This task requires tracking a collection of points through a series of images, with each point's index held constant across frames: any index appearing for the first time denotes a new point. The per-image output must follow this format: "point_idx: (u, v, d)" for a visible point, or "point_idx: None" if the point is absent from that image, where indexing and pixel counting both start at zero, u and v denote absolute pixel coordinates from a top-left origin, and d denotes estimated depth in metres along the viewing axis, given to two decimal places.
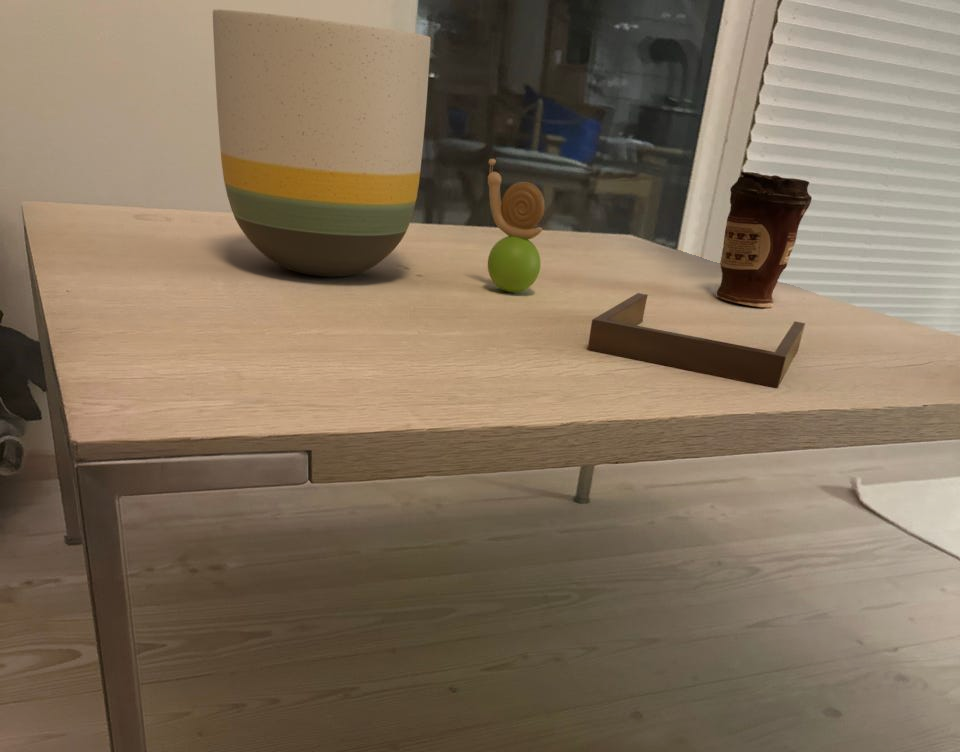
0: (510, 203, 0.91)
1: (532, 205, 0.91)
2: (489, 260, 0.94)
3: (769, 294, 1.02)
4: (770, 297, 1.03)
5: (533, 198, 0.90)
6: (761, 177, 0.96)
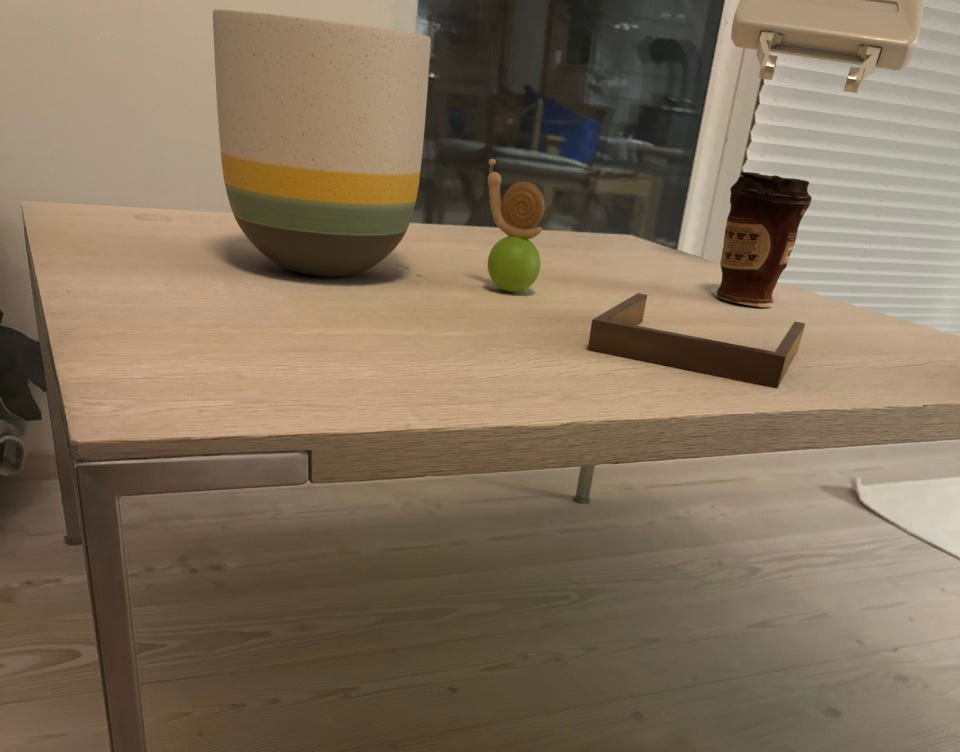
0: (510, 203, 0.91)
1: (532, 205, 0.91)
2: (489, 260, 0.94)
3: (769, 294, 1.02)
4: (770, 297, 1.03)
5: (533, 198, 0.90)
6: (761, 177, 0.96)
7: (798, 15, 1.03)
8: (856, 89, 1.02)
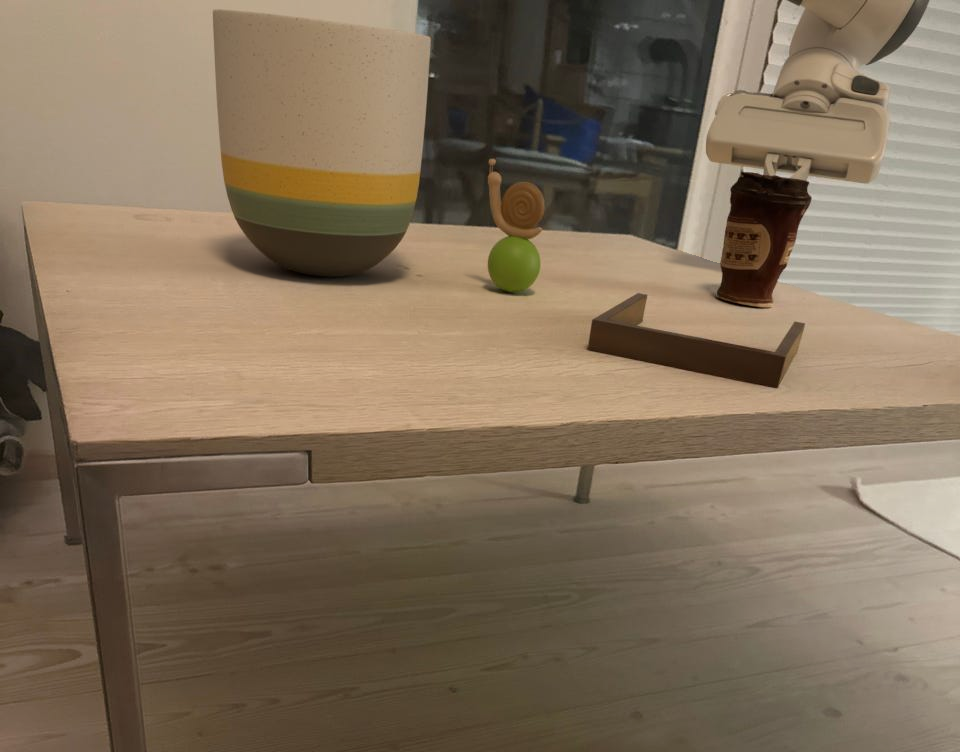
0: (510, 203, 0.91)
1: (532, 205, 0.91)
2: (489, 260, 0.94)
3: (769, 294, 1.02)
4: (770, 297, 1.03)
5: (533, 198, 0.90)
6: (761, 177, 0.96)
7: (768, 134, 1.07)
8: None
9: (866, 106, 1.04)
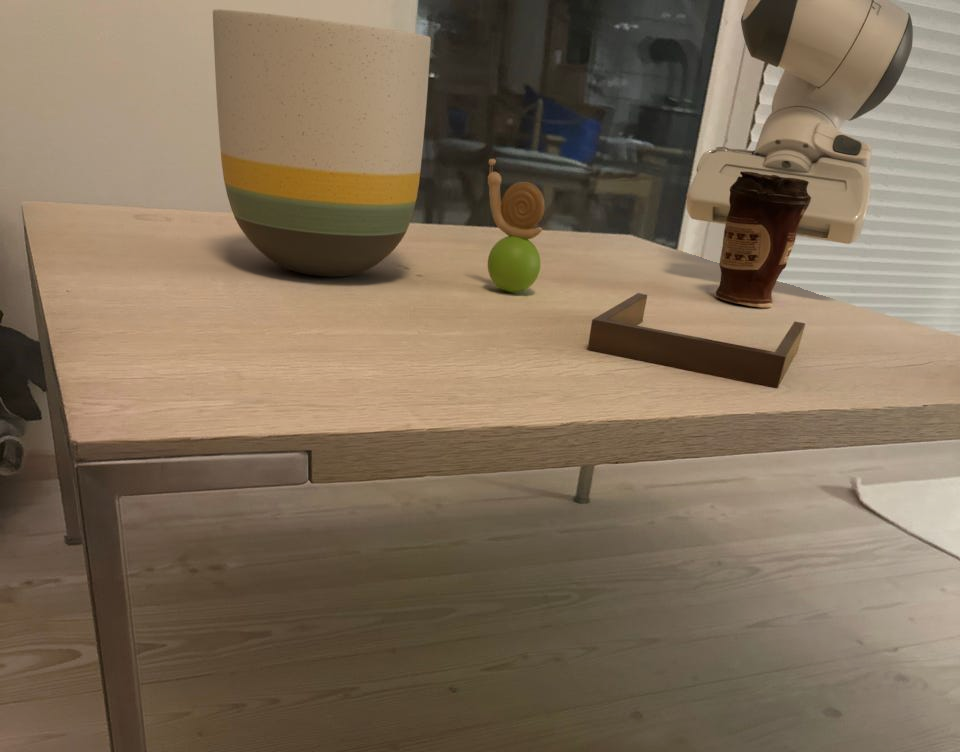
0: (510, 203, 0.91)
1: (532, 205, 0.91)
2: (489, 260, 0.94)
3: (769, 294, 1.02)
4: (770, 297, 1.03)
5: (533, 198, 0.90)
6: (761, 177, 0.96)
7: None
8: None
9: (848, 166, 1.03)
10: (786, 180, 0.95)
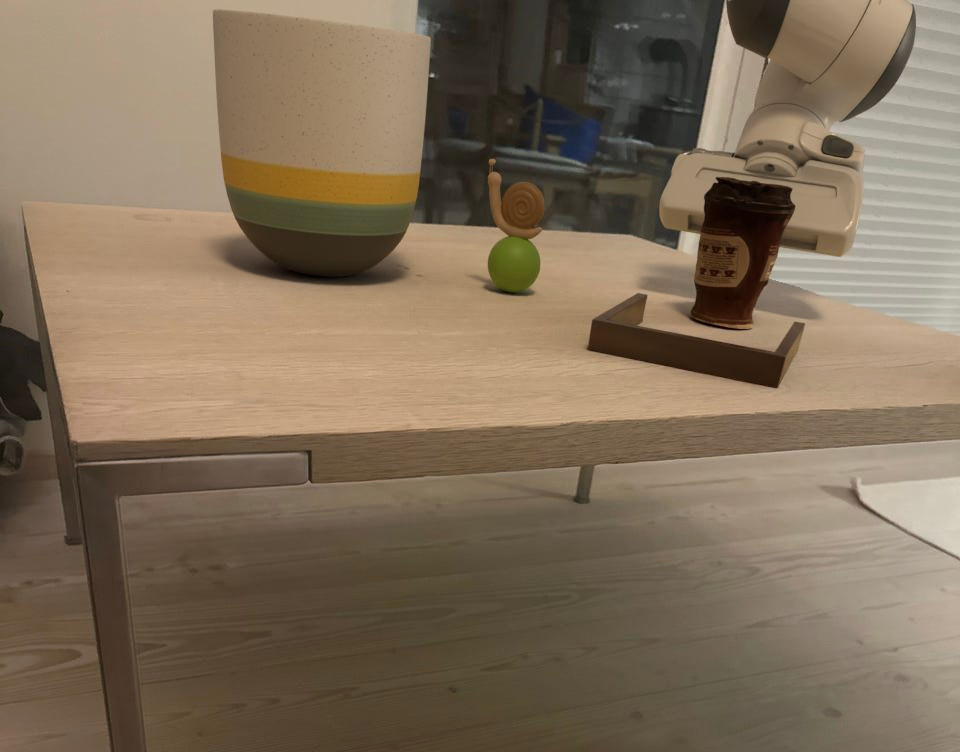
0: (510, 203, 0.91)
1: (532, 205, 0.91)
2: (489, 260, 0.94)
3: (749, 314, 0.91)
4: (750, 317, 0.92)
5: (533, 198, 0.90)
6: (738, 183, 0.85)
7: None
8: None
9: (838, 170, 0.92)
10: (766, 186, 0.84)
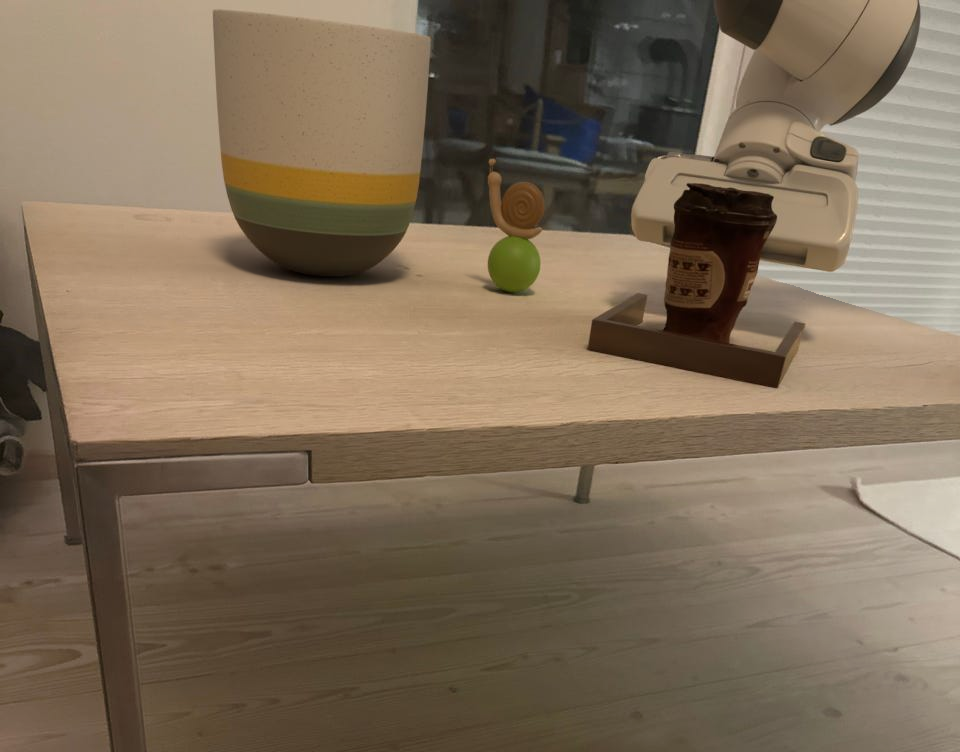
0: (510, 203, 0.91)
1: (532, 205, 0.91)
2: (489, 260, 0.94)
3: (725, 338, 0.81)
4: (727, 341, 0.81)
5: (533, 198, 0.90)
6: (711, 191, 0.74)
7: None
8: None
9: (829, 175, 0.82)
10: (743, 194, 0.73)
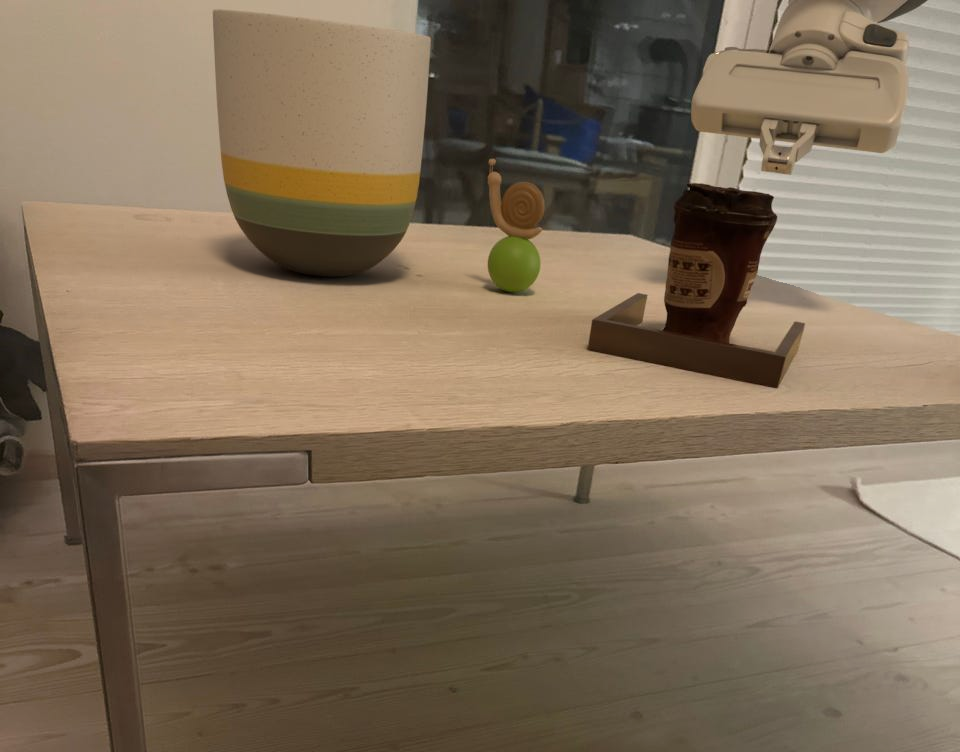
0: (510, 203, 0.91)
1: (532, 205, 0.91)
2: (489, 260, 0.94)
3: (725, 338, 0.81)
4: (727, 341, 0.81)
5: (533, 198, 0.90)
6: (711, 191, 0.74)
7: (765, 96, 0.90)
8: (789, 171, 0.90)
9: (881, 60, 0.88)
10: (743, 194, 0.73)
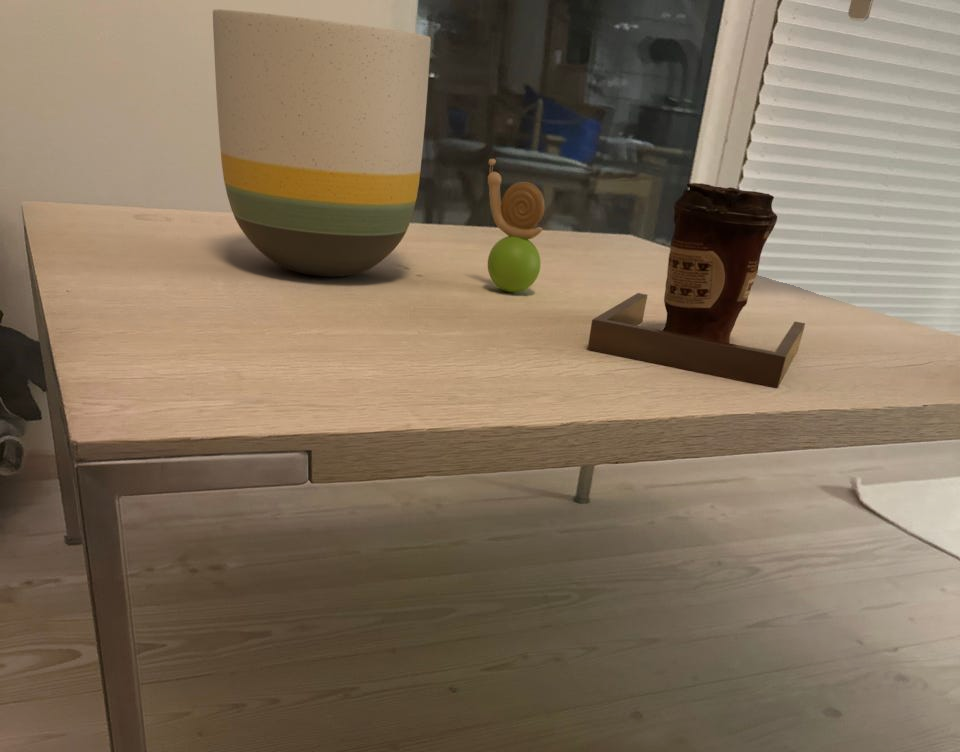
0: (510, 203, 0.91)
1: (532, 205, 0.91)
2: (489, 260, 0.94)
3: (725, 338, 0.81)
4: (727, 341, 0.81)
5: (533, 198, 0.90)
6: (711, 191, 0.74)
7: None
8: (856, 20, 0.90)
9: None
10: (743, 194, 0.73)
